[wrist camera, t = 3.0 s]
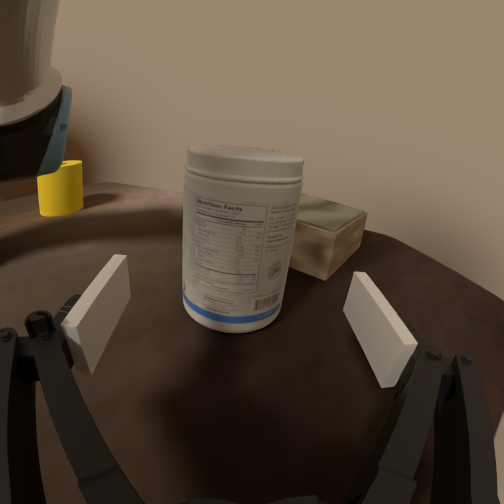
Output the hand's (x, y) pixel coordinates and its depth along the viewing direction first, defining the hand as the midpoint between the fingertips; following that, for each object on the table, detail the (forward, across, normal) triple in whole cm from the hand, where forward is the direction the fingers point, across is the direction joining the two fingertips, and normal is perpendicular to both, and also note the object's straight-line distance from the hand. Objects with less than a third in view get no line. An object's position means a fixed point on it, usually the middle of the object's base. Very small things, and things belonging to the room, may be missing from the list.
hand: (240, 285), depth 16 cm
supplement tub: (+10, 0, -8) cm, 13 cm away
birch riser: (+29, +8, -8) cm, 31 cm away
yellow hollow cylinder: (+38, -36, -8) cm, 53 cm away
